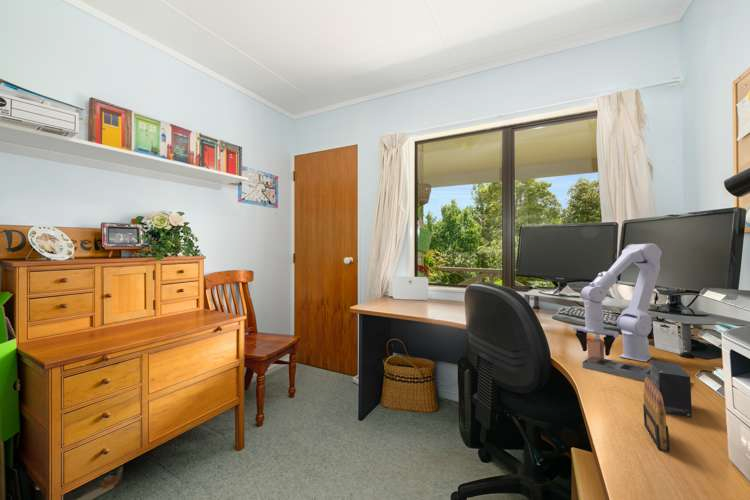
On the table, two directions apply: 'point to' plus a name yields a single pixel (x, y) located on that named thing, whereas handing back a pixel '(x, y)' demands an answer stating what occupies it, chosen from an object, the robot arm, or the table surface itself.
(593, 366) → the grey slotted board
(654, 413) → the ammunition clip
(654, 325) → the ink box
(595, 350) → the peg
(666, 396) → the small box
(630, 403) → the table surface
